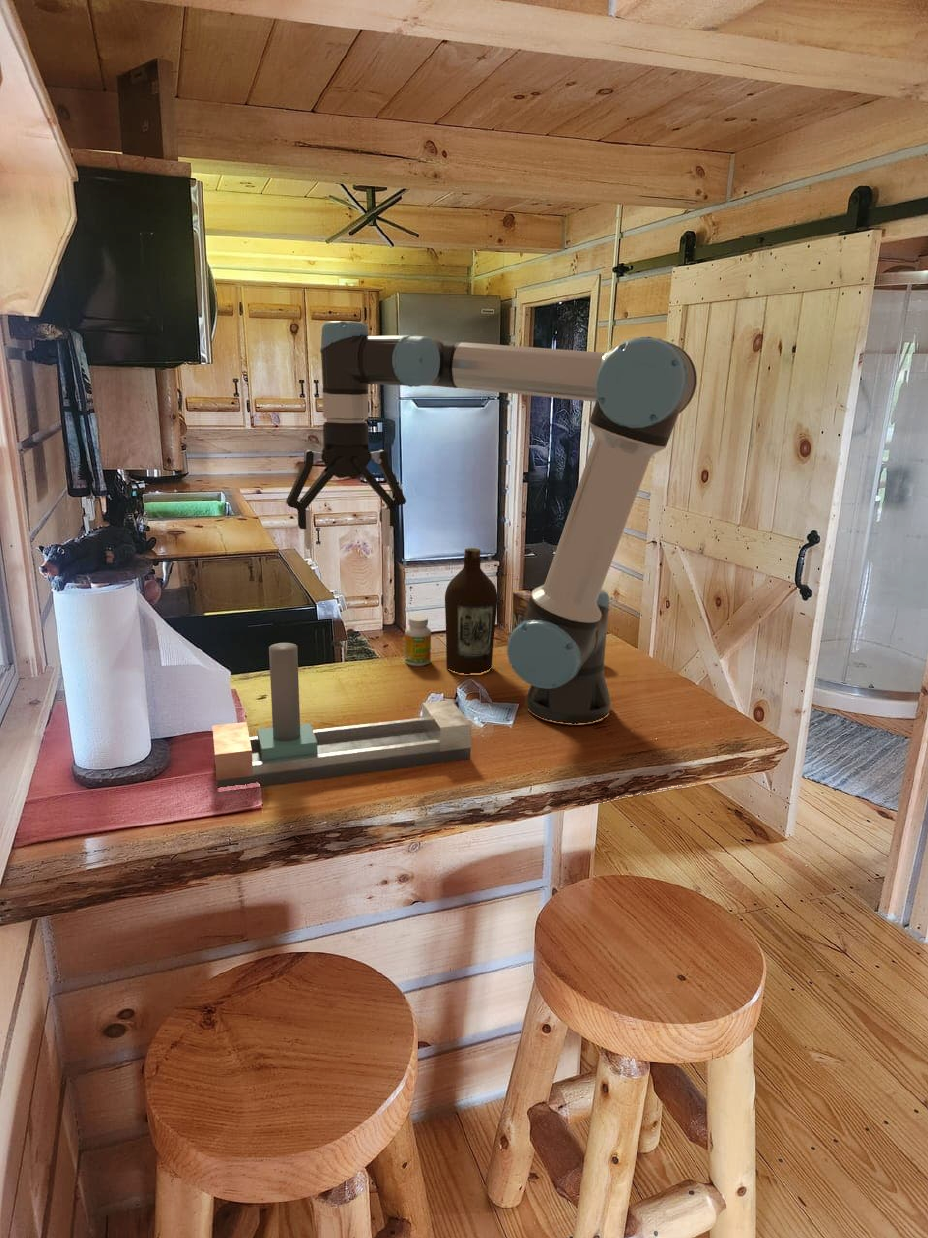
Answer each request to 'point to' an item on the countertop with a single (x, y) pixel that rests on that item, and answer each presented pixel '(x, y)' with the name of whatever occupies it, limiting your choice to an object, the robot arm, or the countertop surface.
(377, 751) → the rail track
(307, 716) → the countertop surface
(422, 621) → the supplement bottle
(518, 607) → the candy box
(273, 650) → the carriage
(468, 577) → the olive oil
